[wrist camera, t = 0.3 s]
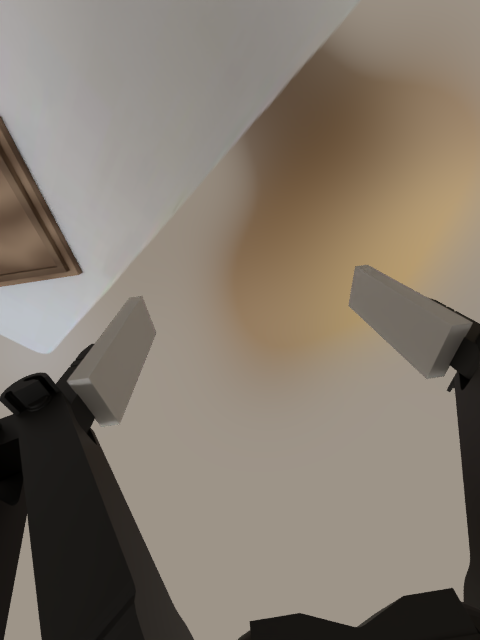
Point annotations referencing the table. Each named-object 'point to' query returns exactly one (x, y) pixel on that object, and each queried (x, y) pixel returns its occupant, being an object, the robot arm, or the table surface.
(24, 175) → the walnut tray
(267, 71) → the table surface
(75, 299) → the table surface
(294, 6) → the table surface
